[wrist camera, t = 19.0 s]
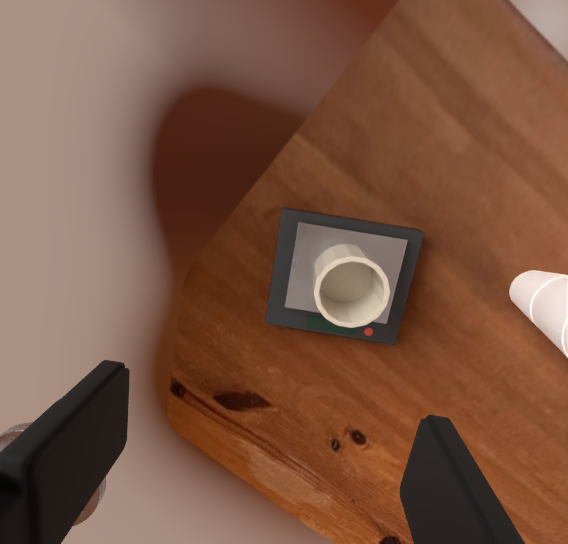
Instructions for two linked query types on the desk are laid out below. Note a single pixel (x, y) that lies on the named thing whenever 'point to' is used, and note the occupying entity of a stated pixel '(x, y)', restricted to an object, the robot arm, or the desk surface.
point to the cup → (544, 303)
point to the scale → (317, 321)
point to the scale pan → (321, 238)
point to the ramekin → (349, 286)
